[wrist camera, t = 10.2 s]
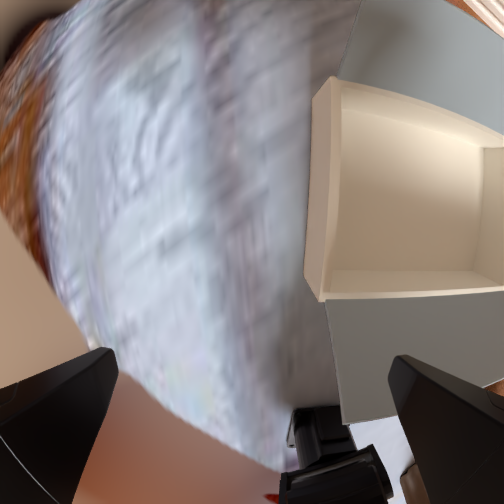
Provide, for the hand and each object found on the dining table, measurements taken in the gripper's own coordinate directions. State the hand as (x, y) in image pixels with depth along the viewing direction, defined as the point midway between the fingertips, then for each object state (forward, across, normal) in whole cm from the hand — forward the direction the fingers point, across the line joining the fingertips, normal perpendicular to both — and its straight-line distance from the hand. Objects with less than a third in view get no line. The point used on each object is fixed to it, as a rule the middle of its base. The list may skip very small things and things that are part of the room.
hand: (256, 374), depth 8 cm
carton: (+13, -13, -6) cm, 19 cm away
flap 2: (+4, -13, +2) cm, 14 cm away
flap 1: (+4, -13, -13) cm, 19 cm away
